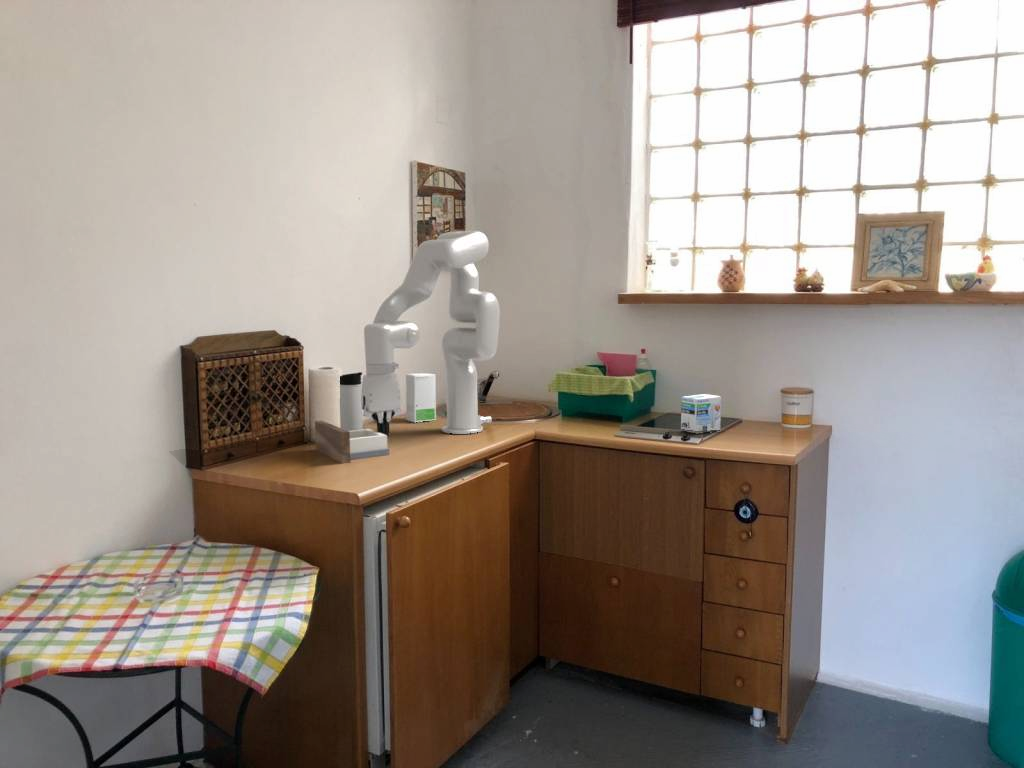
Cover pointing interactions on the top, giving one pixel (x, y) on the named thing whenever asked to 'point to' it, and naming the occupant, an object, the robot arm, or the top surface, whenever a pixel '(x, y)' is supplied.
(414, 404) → the skincare box
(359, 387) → the travel mug
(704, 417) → the light bulb box
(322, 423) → the wall
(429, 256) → the robot arm
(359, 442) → the socket block
